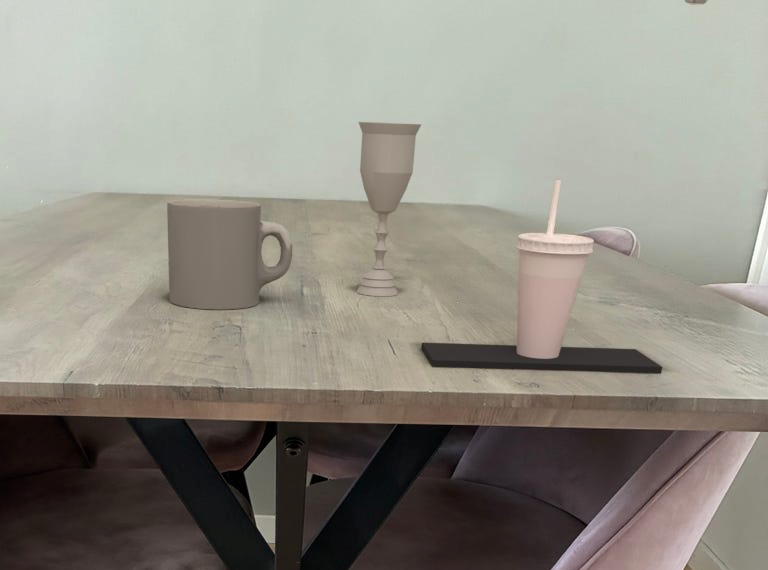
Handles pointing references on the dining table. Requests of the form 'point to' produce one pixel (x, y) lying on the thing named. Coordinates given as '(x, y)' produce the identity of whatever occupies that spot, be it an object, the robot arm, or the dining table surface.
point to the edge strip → (564, 362)
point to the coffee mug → (220, 253)
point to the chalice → (385, 188)
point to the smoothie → (548, 285)
